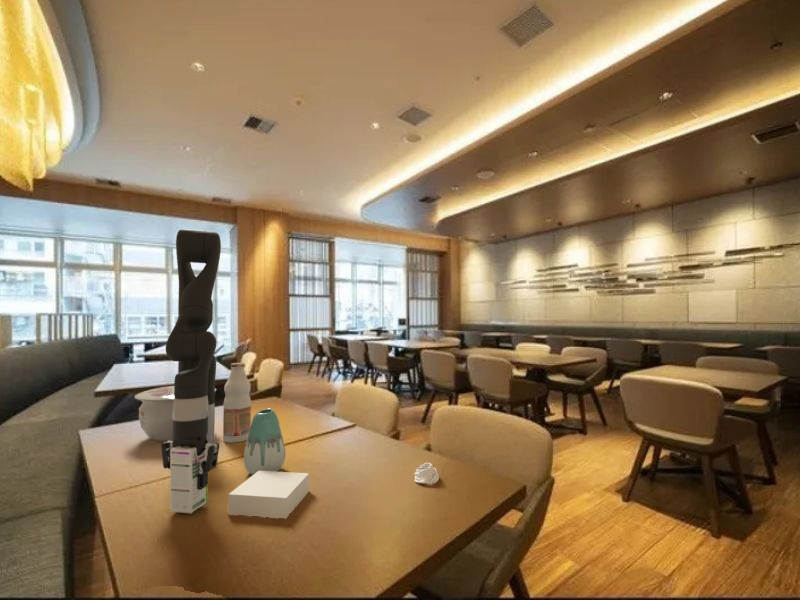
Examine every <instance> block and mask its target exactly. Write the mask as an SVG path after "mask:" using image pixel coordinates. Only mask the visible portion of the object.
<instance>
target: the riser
mask: <svg viewBox="0 0 800 600" xmlns="http://www.w3.org/2000/svg"><path fill="white" fill-rule="evenodd" d="M308 493H310V473H306V472H292V471H289V472H288V471H277V472H275V471H258V472H256V473H255V474H254V475H251V476H250V477H248V478H247V479H246V480H245V481H244V482H243V483H241V484H240V485H238V486H237V487H236V488H235V489H233V490H232V491H231V492H229V493H228V500H227V501H228V503H227V504H228V506H227V507H228V509H227V512H228V515H229V516H238V515H245V516H244V517H252V516H261V517H260V518H266V517H269V518H268V519H279V518H284V519H283V520H287V519H288V517H289V516H290V515H291V514H292V512H294V510H295V509H296V508H297V506H298V505H299V504H301V502H302V500H303V499H304V498H305V497H306V496H307V494H308ZM295 507H296V508H295ZM290 513H291V514H290ZM289 514H290V515H289ZM246 515H247V516H246Z"/></svg>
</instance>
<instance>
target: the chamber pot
mask: <svg viewBox="0 0 800 600" xmlns="http://www.w3.org/2000/svg"><path fill="white" fill-rule="evenodd" d="M216 391H217V388H215V392H216ZM134 399H135V400H138V401H141V405H140V406H139V408H138V419H139V423H140V428H141V430H142V431H143V432H144V433H145V435H146V436H147V437H148V438H149V439H151V440H153V441H156V442H157V441H158V442H163V441H169V440H172V441H173V440H174V438H173V437H172V417H173V403H174V385H167V386H161V387H156V388H151V389H149V390H145V391H141V392H139V393H137V394H135V395H134Z"/></svg>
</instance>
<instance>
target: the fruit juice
mask: <svg viewBox="0 0 800 600" xmlns="http://www.w3.org/2000/svg"><path fill="white" fill-rule="evenodd" d="M245 367H246V364H245V362H233V363H230V369H231V371H230V373H229V375H228V378H227V380H226V383H225V384H224V387H223V389H224V394H225V397H224V400H223V419H222V420H223V423H222V424H223V427H222V428H223V429H222V430H223V431H222V433H223V434H222V439H223V442H226V443H231V444H233V443H234V444H235V443H241V442H244V441H247V439H248V436H249V432H250V428H251V424H252V418H251V417H252V416H251V415H252V413H251V412H252V411H251V410H252V408H251V407H252V400H251V396H250V392H251V386H252V385H251V382H250V381H249V379H248V377H247V374H246V371H245Z"/></svg>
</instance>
